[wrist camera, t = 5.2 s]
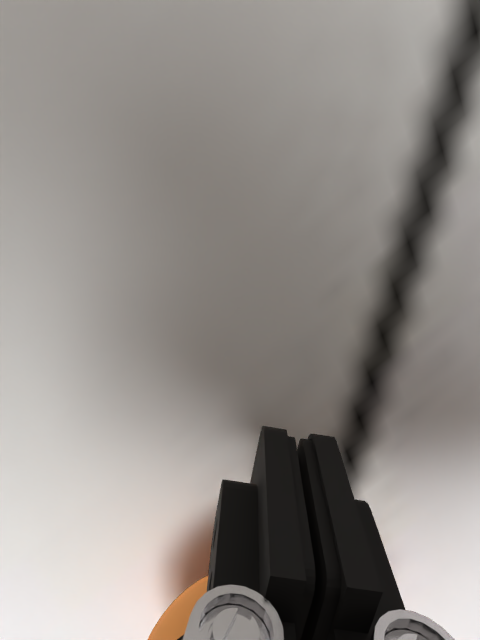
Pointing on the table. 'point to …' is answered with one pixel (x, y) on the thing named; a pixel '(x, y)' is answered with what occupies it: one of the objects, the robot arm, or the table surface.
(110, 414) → the table surface
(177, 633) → the ball
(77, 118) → the table surface
